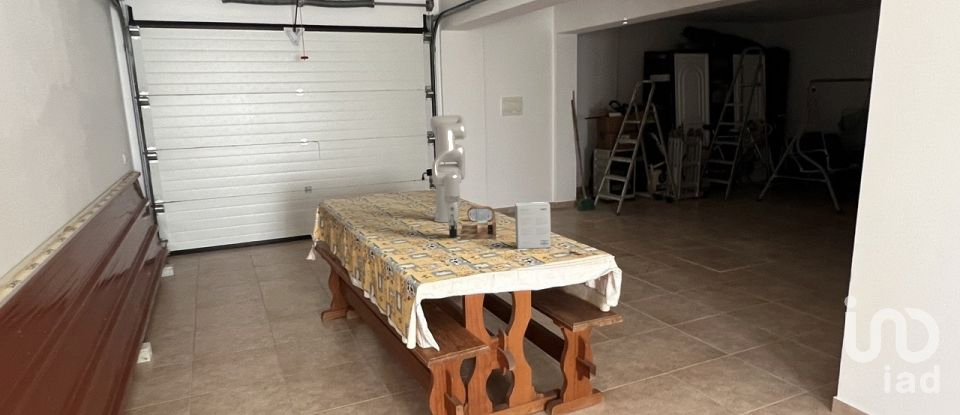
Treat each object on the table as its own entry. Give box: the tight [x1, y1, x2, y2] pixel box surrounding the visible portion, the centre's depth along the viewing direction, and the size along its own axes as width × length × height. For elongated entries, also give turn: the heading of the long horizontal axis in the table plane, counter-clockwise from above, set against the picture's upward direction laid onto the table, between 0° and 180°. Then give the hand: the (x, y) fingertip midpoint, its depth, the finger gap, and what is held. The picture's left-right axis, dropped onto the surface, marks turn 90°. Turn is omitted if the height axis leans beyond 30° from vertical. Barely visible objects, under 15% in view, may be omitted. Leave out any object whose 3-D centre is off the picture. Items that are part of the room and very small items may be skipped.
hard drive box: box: [514, 201, 552, 250], centre depth 267 cm, size 16×8×20 cm, turn 92°
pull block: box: [448, 223, 489, 239], centre depth 290 cm, size 19×5×6 cm, turn 90°
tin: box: [466, 205, 496, 223], centre depth 324 cm, size 15×3×8 cm, turn 84°
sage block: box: [477, 221, 489, 225], centre depth 301 cm, size 5×5×5 cm
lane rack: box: [459, 212, 497, 241], centre depth 295 cm, size 18×23×8 cm
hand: (453, 235), depth 290 cm, fingers closed on pull block, 4 cm apart
